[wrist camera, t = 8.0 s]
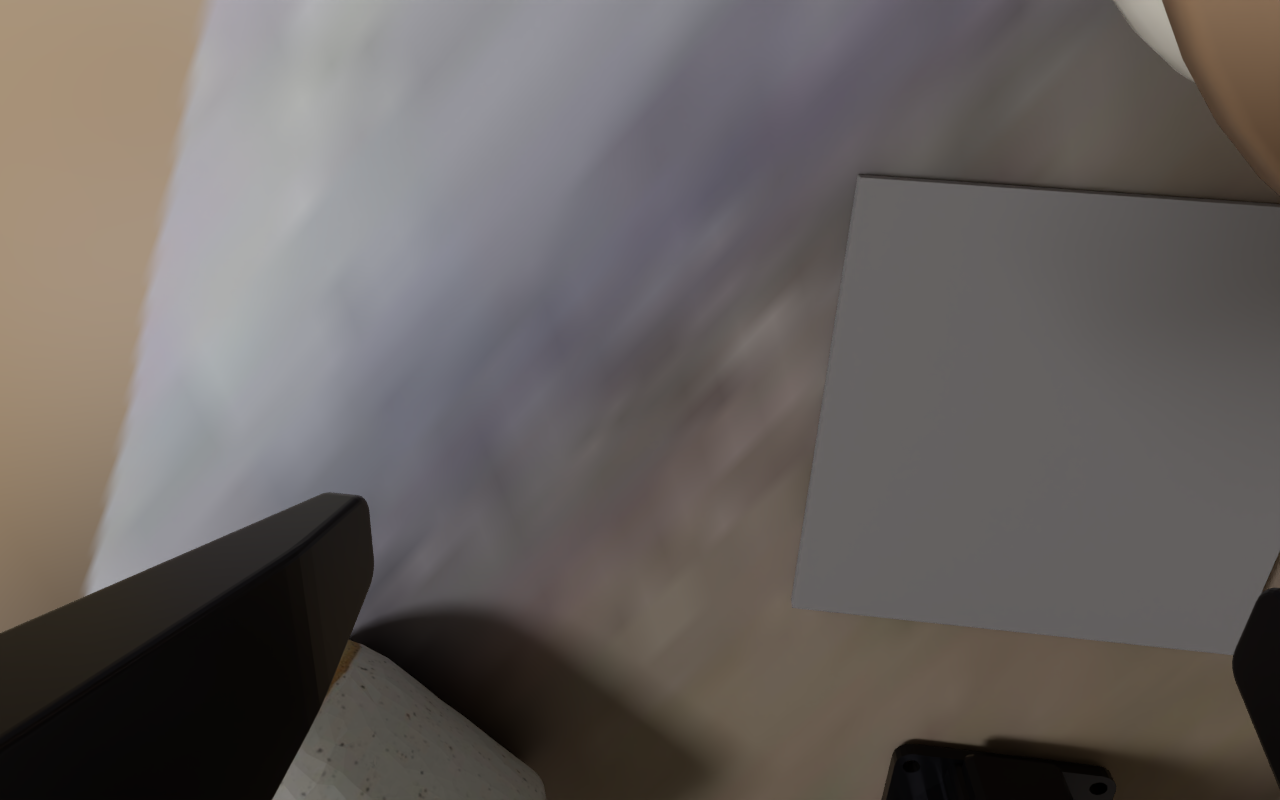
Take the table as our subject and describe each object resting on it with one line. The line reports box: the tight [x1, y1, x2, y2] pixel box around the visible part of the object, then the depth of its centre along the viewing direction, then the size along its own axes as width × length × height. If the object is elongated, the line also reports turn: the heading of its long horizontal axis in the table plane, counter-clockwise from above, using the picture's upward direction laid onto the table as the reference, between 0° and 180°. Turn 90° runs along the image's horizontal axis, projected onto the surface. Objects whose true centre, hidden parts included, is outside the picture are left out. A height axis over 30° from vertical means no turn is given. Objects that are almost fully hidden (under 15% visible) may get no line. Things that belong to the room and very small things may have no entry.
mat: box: [791, 174, 1280, 655], centre depth 21 cm, size 12×12×1 cm
